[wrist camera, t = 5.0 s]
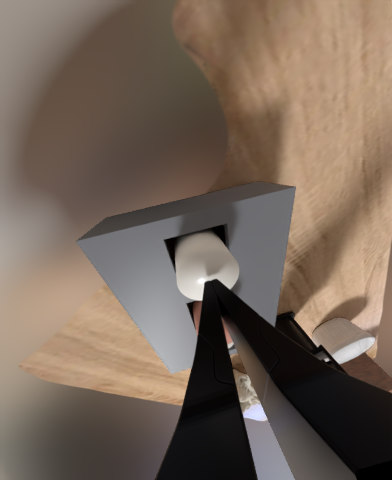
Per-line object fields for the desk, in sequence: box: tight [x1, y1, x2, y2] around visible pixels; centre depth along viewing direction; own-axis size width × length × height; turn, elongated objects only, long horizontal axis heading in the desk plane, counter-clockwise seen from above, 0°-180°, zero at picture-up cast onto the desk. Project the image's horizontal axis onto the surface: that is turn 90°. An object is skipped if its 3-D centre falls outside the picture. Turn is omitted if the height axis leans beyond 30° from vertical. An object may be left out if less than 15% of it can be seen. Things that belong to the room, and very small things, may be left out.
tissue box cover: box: [339, 352, 392, 393], centre depth 46 cm, size 26×14×10 cm, turn 15°
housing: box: [76, 181, 296, 374], centre depth 17 cm, size 16×23×5 cm
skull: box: [233, 369, 261, 413], centre depth 37 cm, size 12×8×25 cm
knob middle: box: [191, 300, 233, 344], centre depth 15 cm, size 4×4×4 cm
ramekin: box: [312, 318, 375, 364], centre depth 33 cm, size 11×11×5 cm
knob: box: [174, 228, 239, 301], centre depth 11 cm, size 4×4×4 cm
